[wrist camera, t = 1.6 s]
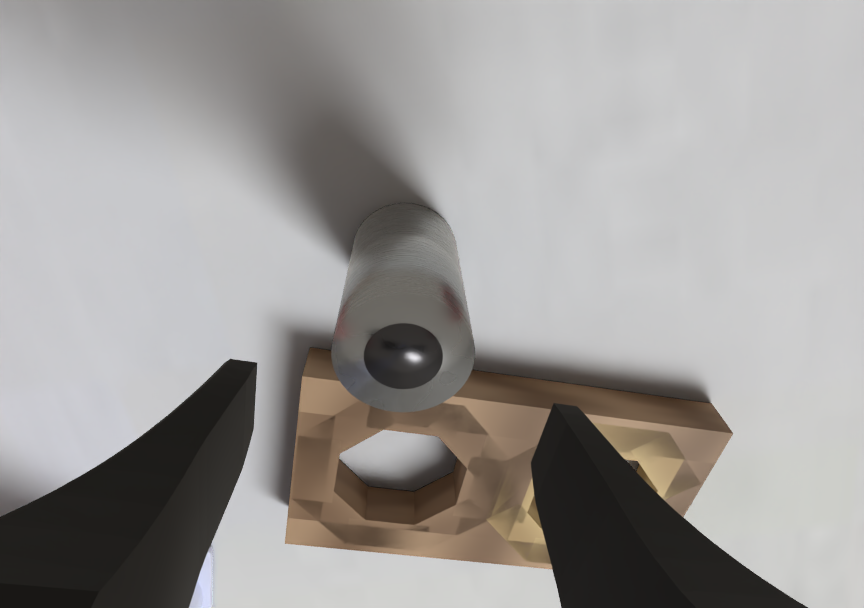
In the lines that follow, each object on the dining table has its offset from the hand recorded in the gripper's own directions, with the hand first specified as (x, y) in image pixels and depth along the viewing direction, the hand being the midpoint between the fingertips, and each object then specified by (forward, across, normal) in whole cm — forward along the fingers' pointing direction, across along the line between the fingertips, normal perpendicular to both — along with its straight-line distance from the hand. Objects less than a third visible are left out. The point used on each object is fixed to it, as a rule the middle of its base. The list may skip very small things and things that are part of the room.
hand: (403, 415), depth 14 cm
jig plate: (+9, -6, +10) cm, 15 cm away
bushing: (+9, 0, 0) cm, 9 cm away
